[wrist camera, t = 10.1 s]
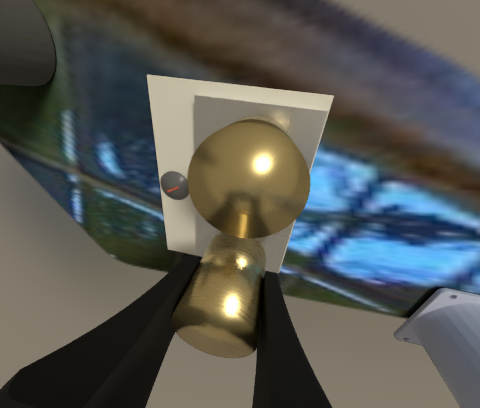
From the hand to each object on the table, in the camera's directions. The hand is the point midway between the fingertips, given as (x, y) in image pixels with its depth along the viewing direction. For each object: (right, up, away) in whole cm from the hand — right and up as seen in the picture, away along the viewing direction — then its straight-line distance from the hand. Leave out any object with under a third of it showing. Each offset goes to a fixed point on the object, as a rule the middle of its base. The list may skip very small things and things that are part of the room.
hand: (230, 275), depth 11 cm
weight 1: (+1, +7, 0) cm, 7 cm away
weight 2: (0, +1, +2) cm, 2 cm away
